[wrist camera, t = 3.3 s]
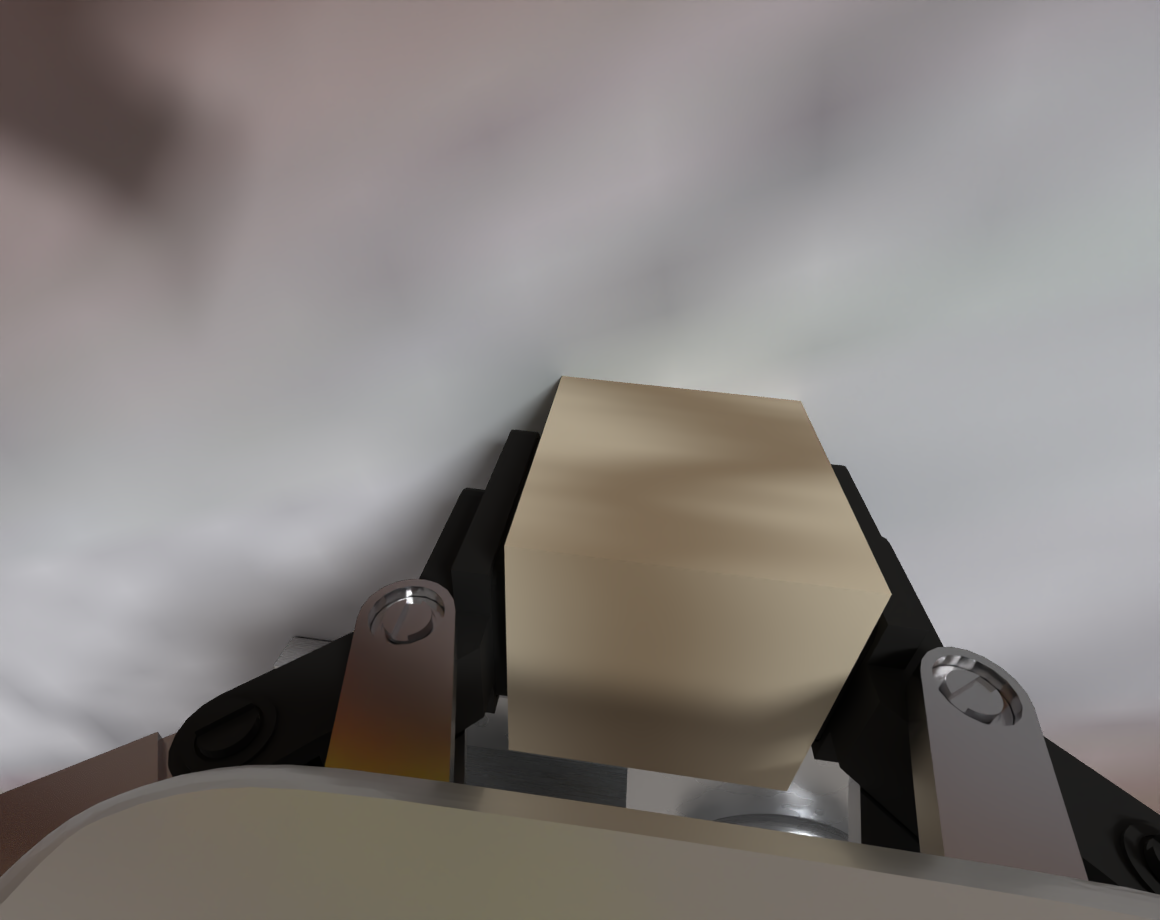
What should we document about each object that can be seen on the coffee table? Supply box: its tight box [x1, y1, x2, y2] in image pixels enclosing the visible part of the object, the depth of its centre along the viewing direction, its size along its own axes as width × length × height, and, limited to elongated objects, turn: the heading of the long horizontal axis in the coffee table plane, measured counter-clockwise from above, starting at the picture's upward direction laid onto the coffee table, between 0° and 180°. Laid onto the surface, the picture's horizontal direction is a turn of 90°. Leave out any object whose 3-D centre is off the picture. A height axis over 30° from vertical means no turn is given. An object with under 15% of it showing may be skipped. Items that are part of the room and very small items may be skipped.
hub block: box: [504, 376, 892, 791], centre depth 10 cm, size 5×5×5 cm
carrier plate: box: [274, 637, 849, 842], centre depth 19 cm, size 20×14×2 cm
